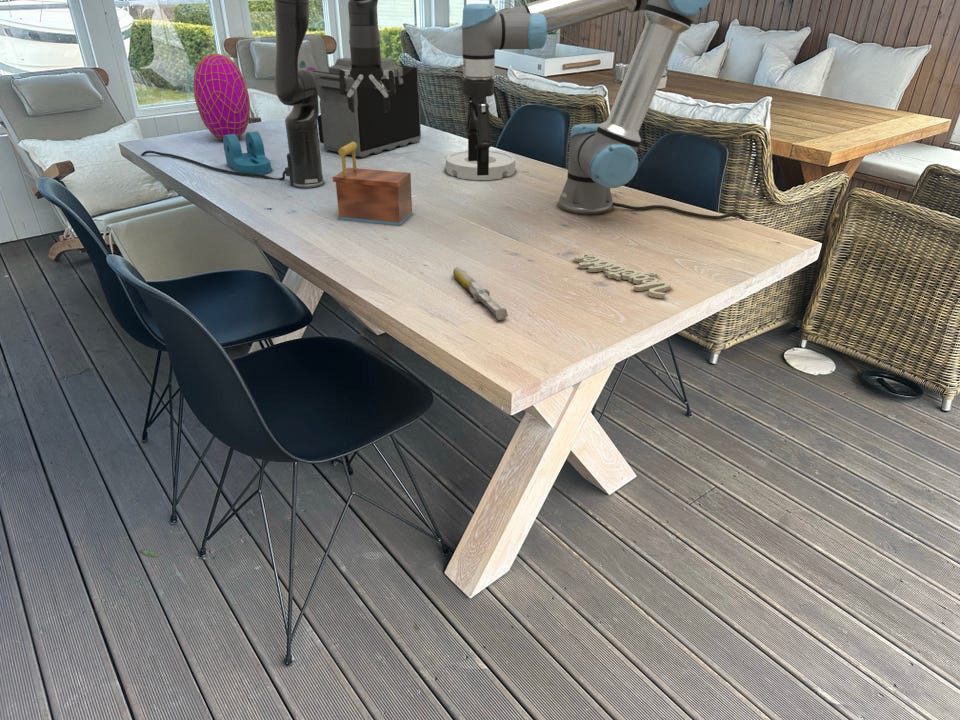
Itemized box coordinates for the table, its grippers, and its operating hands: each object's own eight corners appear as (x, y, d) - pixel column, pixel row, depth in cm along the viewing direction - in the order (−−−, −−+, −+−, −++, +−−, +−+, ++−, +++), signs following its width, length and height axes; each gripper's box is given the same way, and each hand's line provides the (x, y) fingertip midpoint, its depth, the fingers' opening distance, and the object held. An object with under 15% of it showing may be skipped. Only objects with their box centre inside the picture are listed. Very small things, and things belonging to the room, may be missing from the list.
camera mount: (227, 164, 233) (221, 132, 227) (257, 160, 238) (252, 129, 233) (244, 176, 220) (239, 143, 215) (276, 172, 225) (271, 139, 220)
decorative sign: (686, 282, 150) (660, 295, 144) (686, 286, 150) (659, 300, 144) (592, 249, 166) (565, 259, 160) (592, 253, 167) (565, 263, 161)
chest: (339, 219, 187) (335, 182, 181) (354, 208, 195) (350, 172, 190) (399, 225, 183) (397, 187, 178) (412, 214, 191) (410, 177, 186)
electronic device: (383, 133, 276) (378, 52, 261) (425, 141, 265) (422, 56, 250) (314, 150, 251) (304, 61, 235) (358, 160, 240) (350, 67, 224)
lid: (333, 181, 182) (329, 148, 177) (348, 172, 190) (345, 140, 185) (397, 187, 178) (396, 153, 173) (410, 177, 186) (409, 144, 181)
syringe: (449, 274, 155) (449, 263, 153) (465, 272, 156) (464, 260, 154) (490, 323, 135) (491, 310, 133) (508, 319, 136) (508, 307, 134)
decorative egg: (219, 147, 253) (203, 59, 238) (193, 139, 264) (176, 54, 249) (265, 139, 265) (252, 54, 250) (238, 131, 276) (225, 50, 261)
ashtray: (448, 160, 240) (448, 149, 238) (514, 162, 240) (514, 150, 238) (443, 179, 220) (443, 166, 218) (515, 180, 220) (515, 168, 218)
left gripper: (394, 43, 176) (397, 109, 184) (338, 42, 175) (344, 109, 183) (392, 46, 169) (395, 115, 177) (334, 46, 169) (340, 114, 177)
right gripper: (455, 70, 172) (456, 155, 183) (471, 86, 151) (471, 182, 162) (484, 69, 173) (483, 154, 184) (504, 85, 152) (502, 180, 163)
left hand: (369, 112), depth 180 cm, fingers open, 8 cm apart
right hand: (478, 167), depth 173 cm, fingers open, 13 cm apart
